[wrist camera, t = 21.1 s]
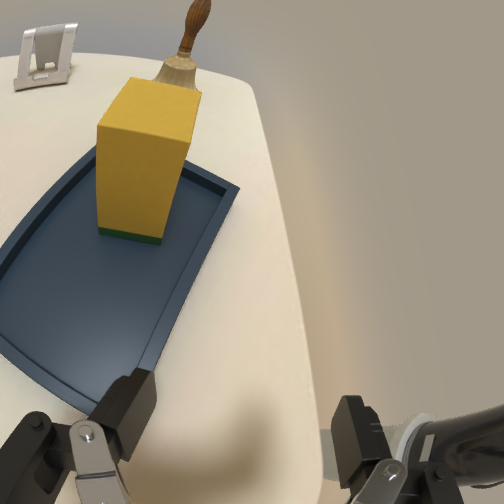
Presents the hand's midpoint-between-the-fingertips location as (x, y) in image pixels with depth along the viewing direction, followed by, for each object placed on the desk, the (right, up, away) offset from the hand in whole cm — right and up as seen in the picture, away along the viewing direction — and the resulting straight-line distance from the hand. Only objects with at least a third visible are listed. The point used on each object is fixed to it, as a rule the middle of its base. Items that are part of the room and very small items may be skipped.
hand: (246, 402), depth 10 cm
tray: (-11, +6, +9) cm, 15 cm away
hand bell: (-11, +28, +23) cm, 38 cm away
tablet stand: (-31, +32, +16) cm, 47 cm away
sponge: (-9, +10, +11) cm, 17 cm away
